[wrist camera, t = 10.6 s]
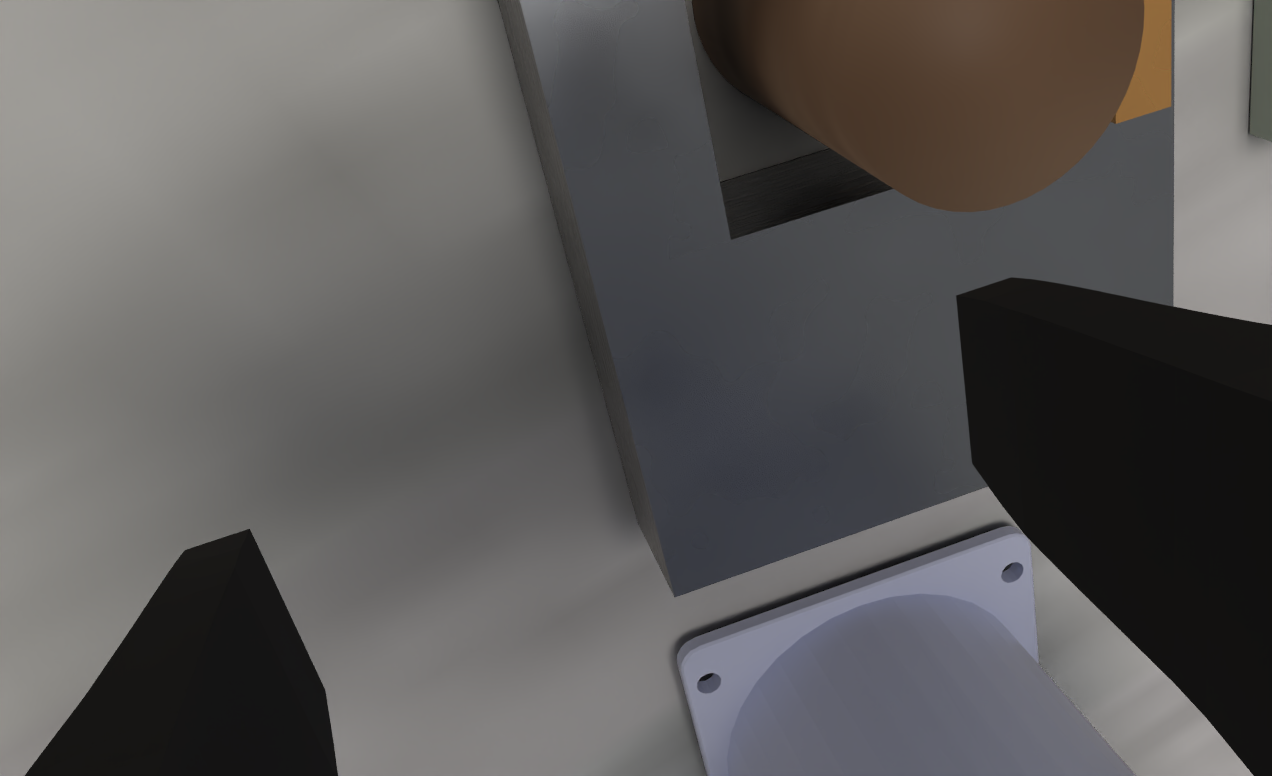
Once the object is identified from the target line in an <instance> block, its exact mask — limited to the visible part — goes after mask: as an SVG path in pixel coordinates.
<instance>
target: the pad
mask: <svg viewBox="0 0 1272 776" xmlns="http://www.w3.org/2000/svg"><path fill="white" fill-rule="evenodd" d="M1250 134H1251V135H1254V136H1257V137H1260V138H1263V139H1266V140H1269V141H1271V142H1272V0H1254V24H1253V52H1252V79H1251V107H1250Z"/></svg>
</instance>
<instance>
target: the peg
mask: <svg viewBox="0 0 1272 776" xmlns="http://www.w3.org/2000/svg"><path fill="white" fill-rule="evenodd" d="M692 5H693V13H694V20H695V23H696V27H697V31H698V35H699V37H700V40H701V42H702V45H703V47H704V49H705V51H706V53H707V55H708V57H709V58H710V60H711V62H712V63H713V65H714V66H715V67H716V68H717V70H718V71H719V72H720V74H721V75H722V76H723V77H724V78H725V79H726V80H727V81H728V82H729V83H730V84H731V85H733V86H734V87H736V88H737V89H738V90H740V91H741V92H742V93H744V94H746V95H747V96H749V97H750V98H752V99H753V100H755V101H757V102H758V103H760V104H761V105H763V106H764V107H766V108H768V109H769V110H771V111H772V112H774V113H775V114H777V115H779V116H780V117H782V118H783V119H785V120H786V121H788V122H790V123H791V124H793V125H794V126H796V127H797V128H799V129H801V130H802V131H804V132H805V133H807V134H808V135H810V136H812V137H813V138H815V139H816V140H818V141H819V142H821V143H823V144H824V145H826V146H827V147H829V148H830V149H832V150H834V151H835V152H837V153H838V154H840V155H841V156H843V157H845V158H846V159H848V160H849V161H851V162H852V163H854V164H856V165H857V166H859V167H860V168H862V169H863V170H865V171H867V172H868V173H870V174H871V175H873V176H874V177H876V178H878V179H879V180H881V181H882V182H884V183H885V184H887V185H889V186H890V187H892V188H893V189H895V190H896V191H898V192H900V193H901V194H903V195H904V196H906V197H908V198H910V199H912V200H914V201H916V202H918V203H920V204H923V205H926V206H929V207H932V208H935V209H940V210H946V211H952V212H977V211H985V210H992V209H996V208H1000V207H1004V206H1007V205H1010V204H1013V203H1015V202H1018V201H1021V200H1023V199H1026V198H1028V197H1030V196H1031V195H1033V194H1035V193H1037V192H1039V191H1041V190H1043V189H1045V188H1046V187H1047V186H1049V185H1050V184H1052V183H1053V182H1055V181H1056V180H1058V179H1059V178H1060V177H1062V176H1063V175H1064V174H1065V173H1066V172H1068V171H1069V170H1070V169H1071V168H1072V167H1073V166H1075V165H1076V164H1077V163H1078V162H1079V161H1080V160H1081V159H1082V158H1083V157H1084V156H1085V155H1086V153H1087V152H1088V151H1089V150H1090V149H1091V148H1092V147H1093V146H1094V144H1095V143H1096V142H1097V141H1098V139H1099V138H1100V137H1101V135H1102V134H1103V133H1104V131H1105V130H1106V128H1107V127H1108V125H1109V124H1110V122H1111V121H1112V119H1113V117H1114V116H1115V114H1116V113H1117V111H1118V109H1119V107H1120V105H1121V103H1122V101H1123V99H1124V97H1125V95H1126V93H1127V90H1128V87H1129V85H1130V82H1131V80H1132V77H1133V74H1134V71H1135V68H1136V64H1137V60H1138V57H1139V53H1140V48H1141V42H1142V35H1143V29H1144V0H692Z"/></svg>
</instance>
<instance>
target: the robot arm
mask: <svg viewBox="0 0 1272 776" xmlns="http://www.w3.org/2000/svg"><path fill="white" fill-rule="evenodd" d="M956 301H957V311H958V322H959V332H960V343H961V353H962V364H963V374H964V385H965V395H966V406H967V416H968V427H969V437H970V448H971V458H972V464H973V466H974V467H975V468H976V470H977V471H978V473H979V474H980V475H981V477H982V478H983V480H984V481H985V482H986V484H987V485H988V487H989V488H990V489H991V491H992V492H993V493H994V495H995V496H996V498H997V499H998V500H999V502H1000V503H1001V505H1002V506H1003V507H1004V508H1005V510H1006V511H1007V512H1008V514H1009V515H1010V516H1011V517H1012V519H1013V520H1014V521H1015V523H1016V524H1017V525H1018V526H1019V528H1020V529H1021V530H1022V532H1023V533H1024V534H1025V535H1026V536H1027V537H1028V538H1029V539H1030V540H1031V541H1032V543H1033V544H1034V545H1035V546H1036V547H1037V548H1038V549H1039V550H1040V551H1041V552H1042V553H1043V554H1044V555H1045V556H1046V557H1047V558H1048V559H1049V560H1050V561H1051V562H1052V563H1053V564H1054V565H1055V566H1056V567H1057V568H1058V569H1059V570H1060V571H1061V572H1062V573H1063V574H1064V575H1065V576H1066V577H1067V578H1068V579H1069V580H1070V581H1071V582H1072V583H1073V584H1074V585H1075V586H1076V587H1077V588H1078V589H1079V590H1080V591H1081V592H1082V593H1083V594H1084V595H1085V596H1086V597H1087V598H1088V599H1089V600H1090V601H1091V602H1092V603H1093V604H1094V605H1095V606H1096V607H1097V608H1098V609H1099V610H1100V611H1101V612H1102V613H1103V614H1105V615H1106V616H1107V617H1108V618H1109V619H1110V620H1111V621H1112V622H1113V623H1114V624H1115V625H1116V626H1117V627H1118V628H1119V629H1120V630H1121V631H1122V632H1123V633H1124V634H1125V635H1126V636H1127V637H1128V638H1129V639H1130V640H1131V641H1132V642H1133V643H1134V644H1135V645H1136V646H1137V647H1138V648H1139V649H1140V650H1141V651H1142V652H1143V653H1144V654H1145V655H1146V656H1147V657H1148V658H1149V659H1150V660H1151V661H1152V662H1153V663H1154V664H1155V665H1156V666H1157V667H1158V668H1159V669H1160V670H1161V671H1162V672H1163V673H1164V674H1166V675H1167V676H1168V677H1169V678H1170V679H1171V680H1172V681H1173V682H1174V683H1175V685H1176V686H1177V687H1178V688H1179V689H1180V690H1181V691H1182V692H1183V693H1184V694H1185V695H1186V696H1187V697H1188V699H1189V700H1190V701H1191V702H1192V703H1193V704H1194V705H1195V706H1196V707H1197V708H1198V709H1199V710H1200V711H1201V712H1202V714H1203V715H1204V716H1205V717H1206V718H1207V719H1208V720H1209V722H1210V723H1211V724H1212V725H1213V726H1214V728H1215V729H1216V730H1217V731H1218V733H1219V734H1220V735H1221V736H1222V737H1223V739H1224V740H1225V741H1226V742H1227V744H1228V745H1229V746H1230V747H1231V748H1232V750H1233V751H1234V752H1235V753H1236V755H1237V756H1238V757H1239V758H1240V759H1241V761H1242V762H1243V763H1244V764H1245V766H1246V767H1247V768H1248V769H1249V770H1250V772H1251V773H1252V774H1253V775H1254V776H1272V325H1268V324H1262V323H1256V322H1251V321H1245V320H1240V319H1234V318H1229V317H1223V316H1218V315H1213V314H1208V313H1203V312H1197V311H1192V310H1187V309H1183V308H1178V307H1173V306H1168V305H1163V304H1158V303H1153V302H1149V301H1144V300H1139V299H1134V298H1129V297H1125V296H1120V295H1115V294H1110V293H1106V292H1101V291H1096V290H1091V289H1086V288H1081V287H1076V286H1070V285H1065V284H1060V283H1054V282H1048V281H1041V280H1034V279H1025V278H1014V277H1011V278H1008V279H1005V280H1002V281H998V282H995V283H992V284H989V285H986V286H983V287H980V288H977V289H974V290H971V291H968V292H965V293H962V294H959V295H956ZM1022 532H1021V531H1020V530H1019V529H1018V528H1016V527H1012V526H1005V527H1000V528H997V529H995V530H992V531H989V532H986V533H983V534H981V535H978V536H975V537H972V538H970V539H967V540H964V541H961V542H958V543H956V544H953V545H950V546H947V547H945V548H942V549H939V550H936V551H933V552H931V553H928V554H925V555H922V556H919V557H917V558H914V559H911V560H908V561H906V562H903V563H900V564H897V565H894V566H892V567H889V568H886V569H883V570H881V571H878V572H875V573H872V574H869V575H867V576H864V577H861V578H858V579H856V580H853V581H850V582H847V583H844V584H842V585H839V586H836V587H833V588H830V589H828V590H825V591H822V592H819V593H817V594H814V595H811V596H808V597H805V598H803V599H800V600H797V601H794V602H792V603H789V604H786V605H783V606H780V607H778V608H775V609H772V610H769V611H767V612H764V613H761V614H758V615H755V616H753V617H750V618H747V619H744V620H741V621H739V622H736V623H733V624H730V625H728V626H725V627H722V628H719V629H716V630H714V631H711V632H708V633H705V634H703V635H700V636H697V637H694V638H693V639H691V640H689V641H687V642H686V643H685V644H684V645H683V646H682V647H681V648H680V650H679V652H678V655H677V665H678V669H679V672H680V676H681V680H682V684H683V687H684V691H685V695H686V699H687V702H688V706H689V710H690V714H691V717H692V721H693V725H694V729H695V732H696V736H697V740H698V744H699V747H700V751H701V755H702V758H703V762H704V766H705V770H706V773H707V776H1136V775H1135V774H1134V773H1133V771H1132V770H1131V769H1130V768H1129V767H1128V766H1127V765H1126V763H1125V762H1124V761H1123V760H1122V759H1121V758H1120V757H1119V755H1118V754H1117V753H1116V752H1115V751H1114V750H1113V749H1112V747H1111V746H1110V745H1109V744H1108V743H1107V742H1106V741H1105V739H1104V738H1103V737H1102V736H1101V735H1100V734H1099V733H1098V731H1097V730H1096V729H1095V728H1094V727H1093V726H1092V725H1091V723H1090V722H1089V721H1088V720H1087V719H1086V718H1085V717H1084V715H1083V714H1082V713H1081V712H1080V711H1079V710H1078V709H1077V708H1076V706H1075V705H1074V704H1073V703H1072V702H1071V701H1070V700H1069V698H1068V697H1067V696H1066V695H1065V694H1064V693H1063V692H1062V690H1061V689H1060V688H1059V687H1058V686H1057V685H1056V684H1055V682H1054V681H1053V680H1052V679H1051V678H1050V677H1049V676H1048V674H1047V673H1046V672H1045V671H1044V670H1043V669H1042V668H1041V666H1040V665H1039V658H1038V643H1037V629H1036V614H1035V600H1034V585H1033V570H1032V556H1031V545H1030V542H1029V539H1028V538H1027V537H1026V536H1025V535H1024V534H1023V533H1022ZM1011 563H1013V564H1012V565H1011V567H1010V568H1009V569H1007V570H1006V571H1004V572H1002V571H1003V570H1004V568H1005V567H1006V566H1007V565H1009V564H1011ZM709 673H714V674H713V675H712V677H711V678H709V679H707V680H706V681H699V680H700V678H701V677H702V676H704V675H706V674H709ZM25 776H338V773H337V766H336V758H335V751H334V743H333V737H332V730H331V724H330V717H329V711H328V705H327V698H326V692H325V689H324V687H323V684H322V682H321V680H320V678H319V676H318V674H317V672H316V669H315V667H314V665H313V663H312V661H311V659H310V657H309V654H308V652H307V650H306V648H305V646H304V644H303V642H302V640H301V637H300V635H299V633H298V631H297V629H296V627H295V625H294V622H293V620H292V618H291V616H290V614H289V612H288V610H287V607H286V605H285V603H284V601H283V599H282V597H281V595H280V592H279V590H278V588H277V586H276V584H275V582H274V580H273V577H272V575H271V573H270V571H269V569H268V567H267V565H266V563H265V560H264V558H263V556H262V554H261V552H260V550H259V548H258V545H257V543H256V541H255V539H254V537H253V535H252V533H251V530H250V529H248V530H245V531H242V532H239V533H236V534H233V535H230V536H227V537H224V538H221V539H217V540H214V541H211V542H208V543H205V544H202V545H199V546H196V547H193V548H190V549H187V550H185V551H184V552H183V553H182V555H181V556H180V557H179V559H178V560H177V561H176V563H175V564H174V565H173V567H172V568H171V570H170V571H169V573H168V574H167V575H166V577H165V578H164V580H163V581H162V583H161V584H160V586H159V587H158V589H157V590H156V592H155V593H154V595H153V596H152V598H151V599H150V601H149V602H148V604H147V605H146V607H145V608H144V610H143V611H142V613H141V615H140V616H139V618H138V619H137V621H136V622H135V624H134V625H133V627H132V628H131V630H130V631H129V633H128V634H127V636H126V637H125V638H124V640H123V641H122V643H121V644H120V646H119V647H118V649H117V650H116V652H115V653H114V655H113V656H112V657H111V659H110V660H109V662H108V663H107V665H106V666H105V668H104V669H103V671H102V672H101V674H100V675H99V677H98V678H97V679H96V681H95V682H94V684H93V685H92V687H91V688H90V690H89V691H88V692H87V694H86V695H85V697H84V698H83V699H82V701H81V702H80V703H79V705H78V706H77V707H76V709H75V710H74V711H73V713H72V714H71V715H70V717H69V718H68V719H67V721H66V722H65V723H64V724H63V726H62V727H61V728H60V730H59V731H58V732H57V734H56V735H55V736H54V738H53V739H52V740H51V742H50V743H49V744H48V746H47V747H46V748H45V750H44V751H43V752H42V753H41V755H40V756H39V757H38V759H37V760H36V761H35V763H34V764H33V765H32V767H31V768H30V769H29V771H28V772H27V773H26V775H25Z"/></svg>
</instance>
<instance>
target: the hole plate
mask: <svg viewBox="0 0 1272 776" xmlns="http://www.w3.org/2000/svg"><path fill="white" fill-rule="evenodd" d="M498 3H499V7H500V10H501V14H502V18H503V22H504V25H505V29H506V33H507V36H508V40H509V44H510V48H511V51H512V55H513V59H514V63H515V66H516V70H517V74H518V77H519V81H520V85H521V89H522V92H523V96H524V100H525V104H526V107H527V111H528V115H529V118H530V122H531V126H532V130H533V133H534V137H535V141H536V145H537V148H538V152H539V156H540V159H541V163H542V167H543V171H544V174H545V178H546V182H547V186H548V189H549V193H550V197H551V200H552V204H553V208H554V212H555V215H556V219H557V223H558V227H559V230H560V234H561V238H562V241H563V245H564V249H565V253H566V256H567V260H568V264H569V268H570V271H571V275H572V279H573V283H574V286H575V290H576V294H577V297H578V301H579V305H580V309H581V312H582V316H583V320H584V324H585V327H586V331H587V335H588V338H589V342H590V346H591V350H592V353H593V357H594V361H595V365H596V368H597V372H598V376H599V379H600V383H601V387H602V391H603V394H604V398H605V402H606V406H607V409H608V413H609V417H610V420H611V424H612V428H613V432H614V435H615V439H616V443H617V447H618V450H619V454H620V458H621V461H622V465H623V469H624V473H625V476H626V480H627V484H628V488H629V491H630V495H631V499H632V502H633V506H634V510H635V514H636V517H637V521H638V524H639V526H640V528H641V530H642V532H643V534H644V536H645V538H646V540H647V542H648V544H649V546H650V548H651V551H652V553H653V555H654V557H655V559H656V561H657V563H658V565H659V567H660V569H661V571H662V573H663V575H664V577H665V579H666V581H667V583H668V585H669V587H670V589H671V591H672V593H673V595H674V597H677V596H680V595H683V594H685V593H688V592H691V591H694V590H697V589H700V588H702V587H705V586H708V585H711V584H714V583H717V582H719V581H722V580H725V579H728V578H731V577H733V576H736V575H739V574H742V573H745V572H748V571H750V570H753V569H756V568H759V567H762V566H765V565H767V564H770V563H773V562H776V561H779V560H781V559H784V558H787V557H790V556H793V555H796V554H798V553H801V552H804V551H807V550H810V549H813V548H815V547H818V546H821V545H824V544H827V543H829V542H832V541H835V540H838V539H841V538H844V537H846V536H849V535H852V534H855V533H858V532H861V531H863V530H866V529H869V528H872V527H875V526H877V525H880V524H883V523H886V522H889V521H892V520H894V519H897V518H900V517H903V516H906V515H909V514H911V513H914V512H917V511H920V510H923V509H925V508H928V507H931V506H934V505H937V504H940V503H942V502H945V501H948V500H951V499H954V498H957V497H959V496H962V495H965V494H968V493H971V492H974V491H976V490H979V489H982V488H985V487H988V485H987V484H986V482H985V481H984V480H983V478H982V477H981V475H980V474H979V473H978V471H977V470H976V468H975V467H974V466H973V464H972V458H971V448H970V437H969V427H968V416H967V406H966V395H965V385H964V374H963V364H962V353H961V343H960V332H959V322H958V311H957V301H956V295H959V294H962V293H965V292H968V291H971V290H974V289H977V288H980V287H983V286H986V285H989V284H992V283H995V282H998V281H1002V280H1005V279H1008V278H1011V277H1014V278H1025V279H1034V280H1041V281H1048V282H1054V283H1060V284H1065V285H1070V286H1076V287H1081V288H1086V289H1091V290H1096V291H1101V292H1106V293H1110V294H1115V295H1120V296H1125V297H1129V298H1134V299H1139V300H1144V301H1149V302H1153V303H1158V304H1163V305H1168V306H1173V246H1174V5H1175V0H1144V29H1143V35H1142V42H1141V48H1140V53H1139V57H1138V60H1137V64H1136V68H1135V71H1134V74H1133V77H1132V80H1131V82H1130V85H1129V87H1128V90H1127V93H1126V95H1125V97H1124V99H1123V101H1122V103H1121V105H1120V107H1119V109H1118V111H1117V113H1116V114H1115V116H1114V117H1113V119H1112V121H1111V122H1110V124H1109V125H1108V127H1107V128H1106V130H1105V131H1104V133H1103V134H1102V135H1101V137H1100V138H1099V139H1098V141H1097V142H1096V143H1095V144H1094V146H1093V147H1092V148H1091V149H1090V150H1089V151H1088V152H1087V153H1086V155H1085V156H1084V157H1083V158H1082V159H1081V160H1080V161H1079V162H1078V163H1077V164H1076V165H1075V166H1073V167H1072V168H1071V169H1070V170H1069V171H1068V172H1066V173H1065V174H1064V175H1063V176H1062V177H1060V178H1059V179H1058V180H1056V181H1055V182H1053V183H1052V184H1050V185H1049V186H1047V187H1046V188H1045V189H1043V190H1041V191H1039V192H1037V193H1035V194H1033V195H1031V196H1030V197H1028V198H1026V199H1023V200H1021V201H1018V202H1015V203H1013V204H1010V205H1007V206H1004V207H1000V208H996V209H992V210H985V211H977V212H952V211H946V210H940V209H935V208H932V207H929V206H926V205H923V204H920V203H918V202H916V201H914V200H912V199H910V198H908V197H906V196H904V195H903V194H901V193H900V192H898V191H896V190H895V189H893V188H892V187H890V186H889V185H887V184H885V183H884V182H882V181H881V180H879V179H878V178H876V177H874V176H873V175H871V174H870V173H868V172H867V171H865V170H863V169H862V168H860V167H859V166H857V165H856V164H854V163H852V162H851V161H849V160H848V159H846V158H845V157H843V156H841V155H840V154H838V153H837V152H835V151H834V150H832V149H828V150H824V151H821V152H818V153H815V154H811V155H808V156H805V157H802V158H798V159H795V160H792V161H789V162H785V163H782V164H779V165H776V166H772V167H769V168H766V169H763V170H759V171H756V172H753V173H750V174H746V175H743V176H740V177H737V178H733V179H730V180H727V181H724V182H721V183H720V181H719V176H718V171H717V165H716V160H715V155H714V150H713V145H712V139H711V134H710V129H709V124H708V119H707V114H706V108H705V103H704V98H703V93H702V88H701V83H700V77H699V72H698V67H697V62H696V57H695V51H694V46H693V41H692V36H691V31H690V26H689V20H688V15H687V10H686V5H685V0H498Z"/></svg>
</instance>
